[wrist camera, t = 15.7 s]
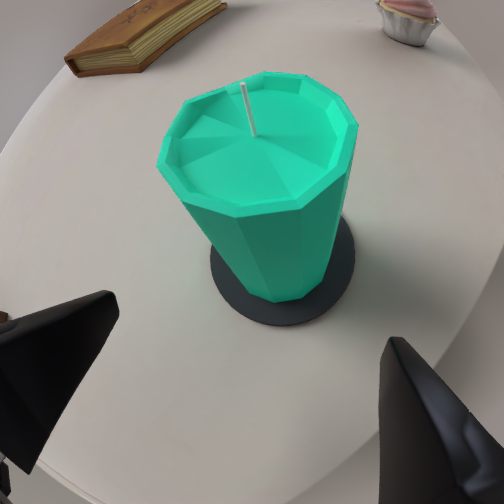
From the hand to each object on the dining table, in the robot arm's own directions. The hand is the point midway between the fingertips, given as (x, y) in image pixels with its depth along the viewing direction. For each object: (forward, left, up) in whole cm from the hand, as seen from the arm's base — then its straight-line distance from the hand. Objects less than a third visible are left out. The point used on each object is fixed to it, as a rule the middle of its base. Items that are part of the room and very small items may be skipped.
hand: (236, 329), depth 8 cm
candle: (+5, -1, -8) cm, 10 cm away
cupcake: (+35, -22, -8) cm, 43 cm away
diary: (+47, +17, -8) cm, 51 cm away
